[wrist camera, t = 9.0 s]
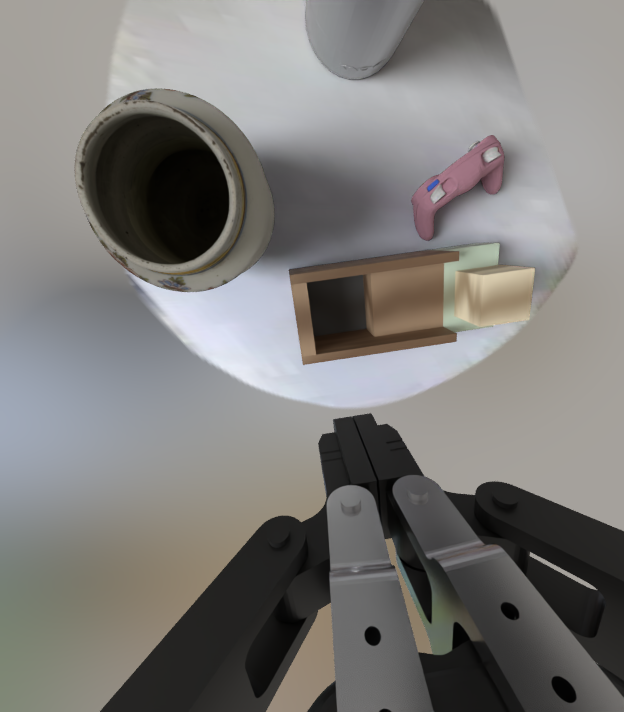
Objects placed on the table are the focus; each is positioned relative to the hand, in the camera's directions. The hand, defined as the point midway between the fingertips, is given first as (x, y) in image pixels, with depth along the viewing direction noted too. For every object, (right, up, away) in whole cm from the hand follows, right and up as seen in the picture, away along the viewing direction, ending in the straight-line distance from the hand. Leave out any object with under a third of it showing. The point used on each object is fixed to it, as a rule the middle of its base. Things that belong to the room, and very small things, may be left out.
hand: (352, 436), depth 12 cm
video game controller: (+13, +21, +23) cm, 34 cm away
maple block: (+17, +10, +22) cm, 30 cm away
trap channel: (+7, +11, +26) cm, 29 cm away
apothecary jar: (-12, +18, +21) cm, 30 cm away
